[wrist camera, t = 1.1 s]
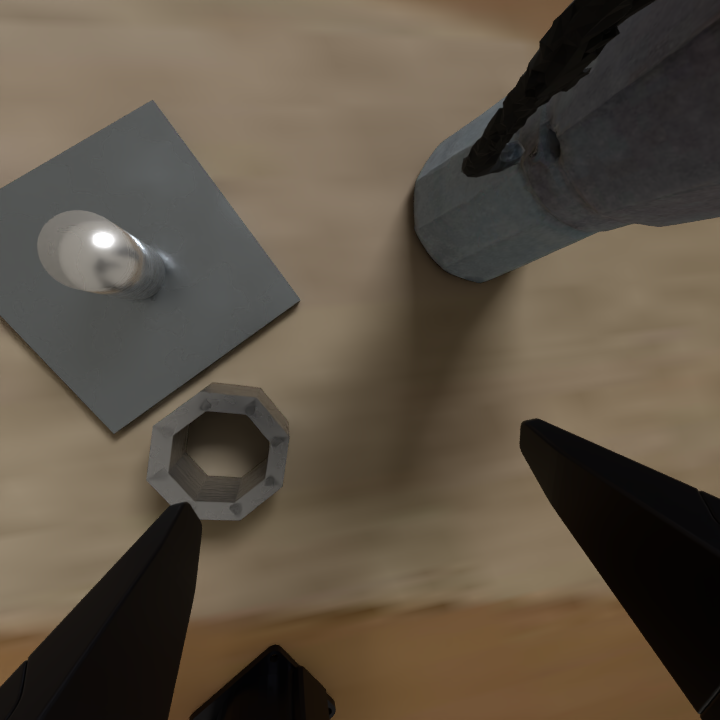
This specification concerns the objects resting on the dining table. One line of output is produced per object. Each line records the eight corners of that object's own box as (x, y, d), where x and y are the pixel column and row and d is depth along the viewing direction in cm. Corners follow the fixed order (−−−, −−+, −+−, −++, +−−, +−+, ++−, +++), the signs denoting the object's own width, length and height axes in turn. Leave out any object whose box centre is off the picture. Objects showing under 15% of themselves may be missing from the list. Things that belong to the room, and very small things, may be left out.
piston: (119, 430, 18) (60, 466, 13) (-65, 237, 16) (-217, 196, 11) (299, 300, 20) (305, 290, 15) (157, 107, 17) (108, 21, 13)
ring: (219, 513, 20) (208, 545, 17) (144, 432, 19) (118, 451, 16) (307, 444, 21) (311, 463, 18) (240, 362, 19) (232, 368, 16)
